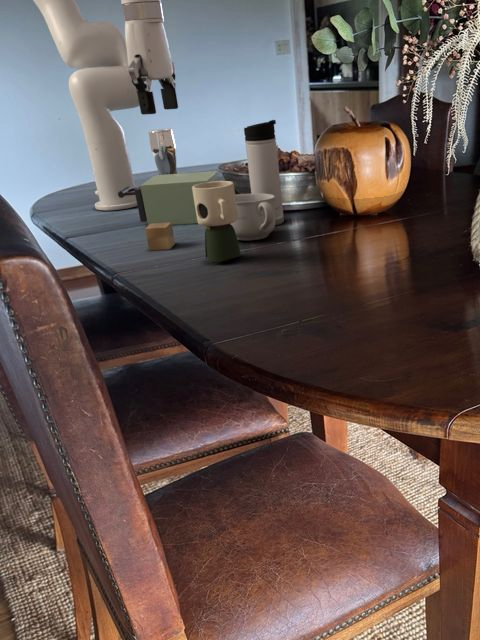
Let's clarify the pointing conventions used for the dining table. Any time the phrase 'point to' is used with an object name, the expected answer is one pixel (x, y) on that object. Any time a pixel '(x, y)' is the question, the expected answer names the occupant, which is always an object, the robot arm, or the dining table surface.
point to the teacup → (254, 216)
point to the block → (160, 236)
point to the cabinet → (173, 197)
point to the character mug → (217, 218)
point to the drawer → (139, 200)
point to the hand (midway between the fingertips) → (160, 111)
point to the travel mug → (264, 163)
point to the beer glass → (163, 151)
